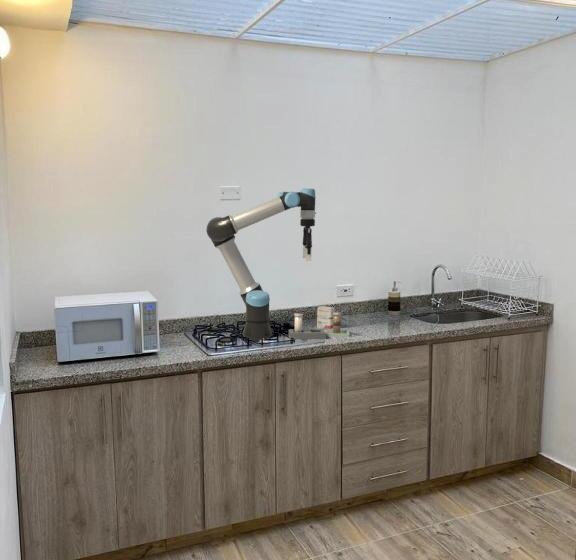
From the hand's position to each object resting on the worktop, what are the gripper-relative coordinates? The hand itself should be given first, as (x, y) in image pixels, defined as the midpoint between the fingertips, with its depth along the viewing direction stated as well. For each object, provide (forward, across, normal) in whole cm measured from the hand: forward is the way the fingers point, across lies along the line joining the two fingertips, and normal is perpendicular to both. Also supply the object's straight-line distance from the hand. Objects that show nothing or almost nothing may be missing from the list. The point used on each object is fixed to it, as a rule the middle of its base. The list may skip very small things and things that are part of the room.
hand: (306, 259), depth 315 cm
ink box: (+39, +8, -12) cm, 42 cm away
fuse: (+38, -16, +6) cm, 41 cm away
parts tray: (+39, -11, -15) cm, 43 cm away
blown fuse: (+38, -11, -15) cm, 42 cm away
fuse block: (+39, -16, +1) cm, 42 cm away
